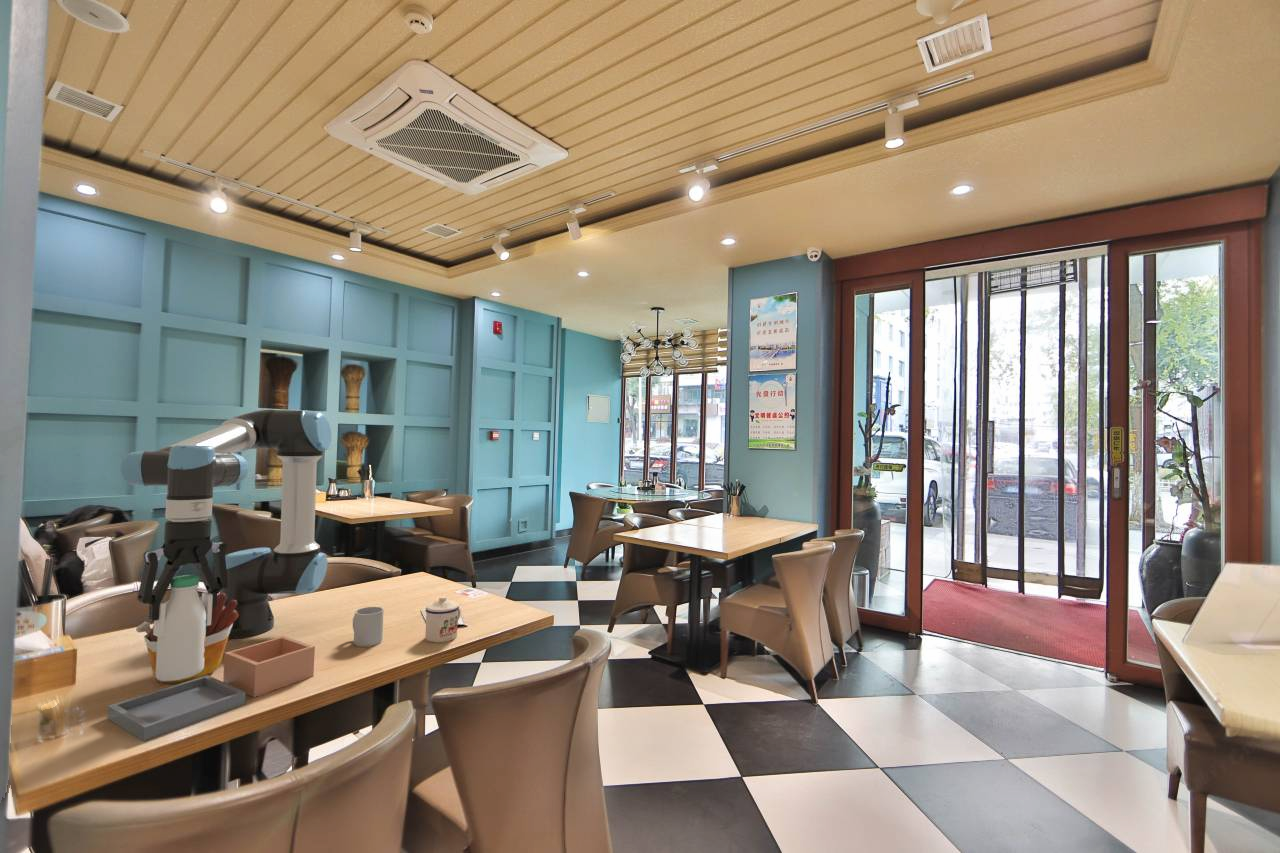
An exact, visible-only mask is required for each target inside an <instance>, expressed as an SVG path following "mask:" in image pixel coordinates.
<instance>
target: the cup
mask: <svg viewBox="0 0 1280 853" xmlns="http://www.w3.org/2000/svg"><path fill="white" fill-rule="evenodd" d="M352 630H353V632H354V633H353V645H356V647H358V646H359V647H358V648H369V646H370V647H374V646H377V645H379V644H381V642H382V641H383V632H384V608H383V607H380V606H367V607H361V608H358V609H356V610H355V611H354V615H353V618H352ZM373 645H374V646H373Z"/></svg>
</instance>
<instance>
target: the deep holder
mask: <svg viewBox="0 0 1280 853" xmlns="http://www.w3.org/2000/svg"><path fill="white" fill-rule="evenodd" d="M315 649H316V646H314V645H312V644H309V643H305V642H302V641H299V640H296V639H294V638H290V637H288V636H285V635H282V636H280V637H276V638H272V639H268V640H266V641H265V640H264V641H262V642H258V643H255V644H251V645H248V646H244V647H241V648H238V649H233V650H231V651H227V652H224V660H223V662H224V663H223V680H222V682H224V683H227V684H229V685H231V686H233V687H235V688H238V689H240V690H242V691H244V692H246V695H247V696H249V695H250V697H252V698H256V696H257V697H259V696H262V694H263V695H265V694H268V693H270V691H271V692H273V690H274V691H276V690H279V689H282V688H284V686H285V687H287V686H290V685H292V684H291V683H293V684H295V683H294V682H296V683H298V682H300V681H299V680H301V681H303V680H302V679H304V680H306V679H305V678H307V679H309V678H312V677H314V675H315V674H314V672H315ZM297 681H298V682H297ZM289 684H290V685H289ZM286 685H287V686H286ZM281 687H282V688H281ZM278 688H279V689H278ZM275 689H276V690H275Z"/></svg>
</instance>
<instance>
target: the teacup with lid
mask: <svg viewBox="0 0 1280 853" xmlns="http://www.w3.org/2000/svg"><path fill="white" fill-rule="evenodd" d="M438 598H439V599H438V600H435V601H434V602H431V603H429V604H428V605H427V606H426V607H425V610H426V621H425V634H424V635H425V636H424V637H425V640H426V641H427V642H429V643H437V644H438V643H446V642H450V641H452V640H455V639H456V638H457V635H458V625H457V622H458V620H459V618H460V614H461V612H462V611H460V610H461V608H460V606H459V604H458V603H457V602H454V601H451V600H449V599H447V597H446V596H444V595H442V596H439V597H438Z"/></svg>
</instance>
